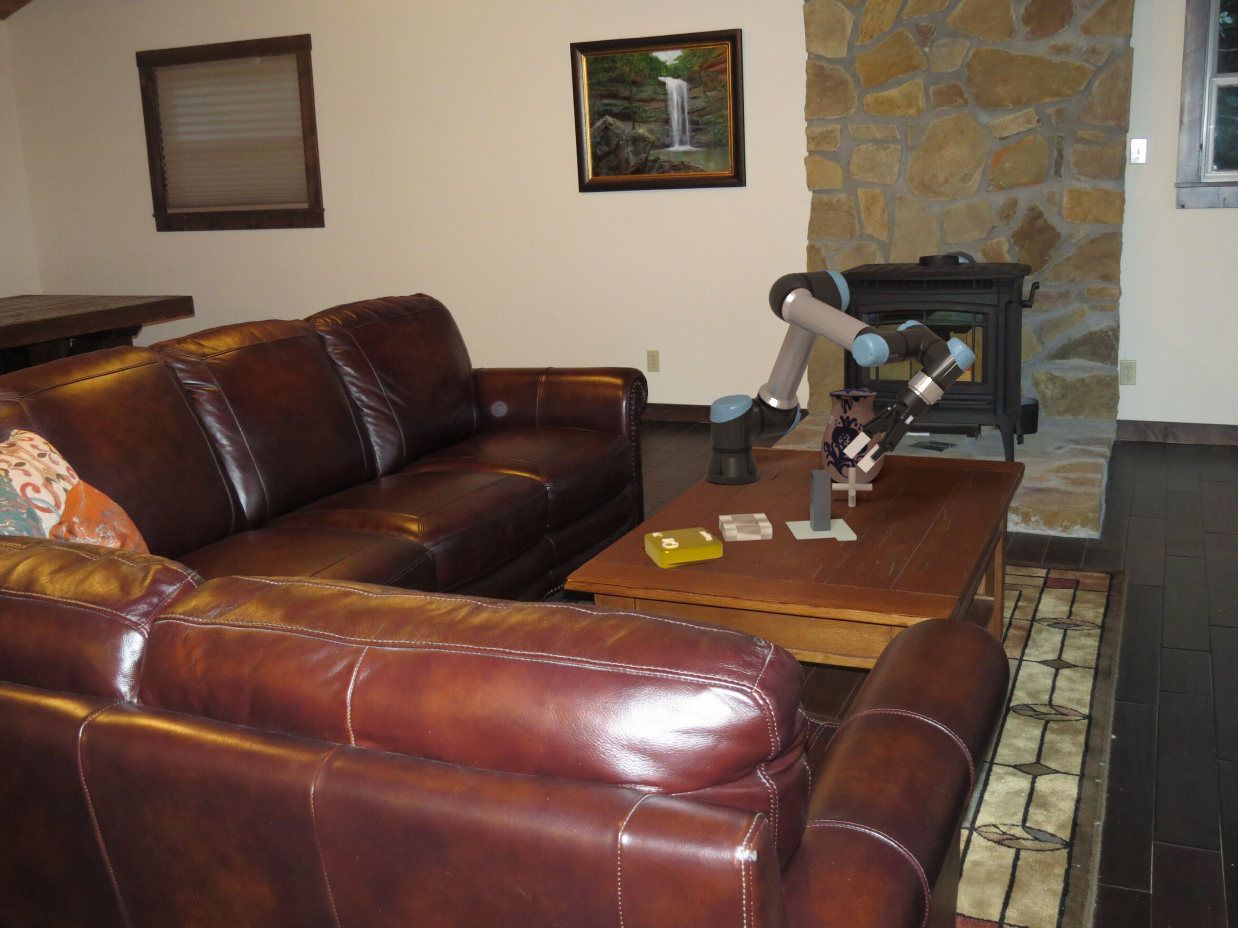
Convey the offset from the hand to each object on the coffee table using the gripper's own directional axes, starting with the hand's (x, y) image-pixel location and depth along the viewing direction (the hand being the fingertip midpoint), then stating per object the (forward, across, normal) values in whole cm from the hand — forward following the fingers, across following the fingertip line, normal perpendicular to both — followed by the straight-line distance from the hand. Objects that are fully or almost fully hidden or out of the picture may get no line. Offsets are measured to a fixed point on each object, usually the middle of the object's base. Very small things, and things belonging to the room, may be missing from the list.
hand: (853, 461), depth 265 cm
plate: (+18, 0, -6) cm, 19 cm away
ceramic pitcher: (+4, +48, -21) cm, 52 cm away
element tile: (+42, -11, +17) cm, 47 cm away
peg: (+17, 0, -6) cm, 18 cm away
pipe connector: (+9, +22, -16) cm, 28 cm away
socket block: (+30, 0, +6) cm, 31 cm away
